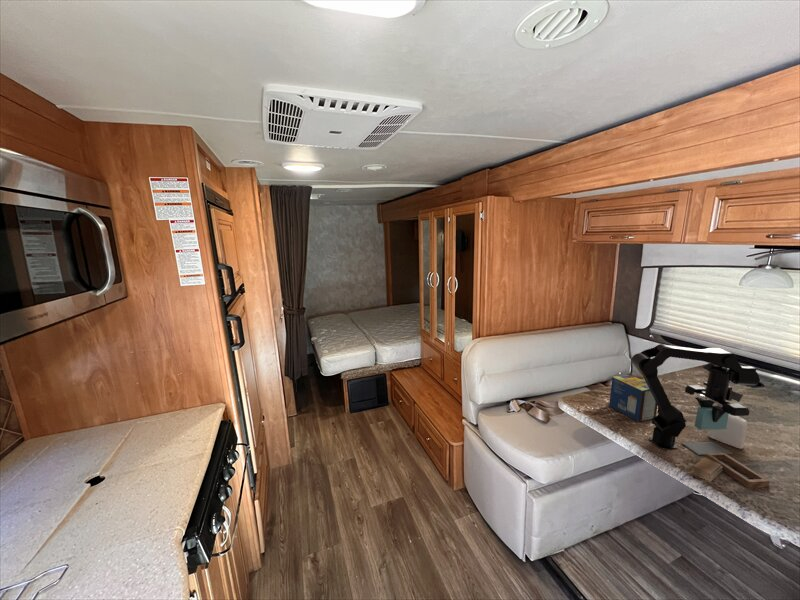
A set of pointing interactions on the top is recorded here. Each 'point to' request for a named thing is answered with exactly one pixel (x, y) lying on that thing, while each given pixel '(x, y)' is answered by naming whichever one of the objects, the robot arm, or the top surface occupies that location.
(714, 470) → the offcut stack
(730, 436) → the photo printer
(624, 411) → the protein box
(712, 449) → the charcoal mat
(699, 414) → the teal block
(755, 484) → the walnut rack
